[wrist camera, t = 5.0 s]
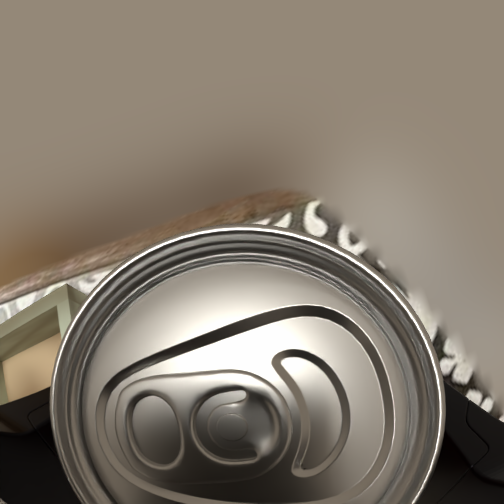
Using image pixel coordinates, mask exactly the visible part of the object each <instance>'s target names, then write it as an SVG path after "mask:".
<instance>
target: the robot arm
mask: <svg viewBox="0 0 504 504" xmlns="http://www.w3.org/2000/svg"><path fill="white" fill-rule="evenodd" d="M443 383H444V390H445V404H446V417H445V430H444V436H443V442H442V447H441V451H440V455H439V458H438V461H437V464H436V467H435V470H434V473H433V475H432V477H431V479H430V482H429V484H428V486H427V488H426V490H425V491H424V493H423V495H422V497H421V498H420V500H419V502H418V503H417V504H504V422H502V421H500V420H499V419H497V418H495V417H494V416H492V415H491V414H489V413H488V412H486V411H485V410H483V409H482V408H481V407H479V406H478V405H476V404H475V403H474V402H472V401H471V400H469V399H468V398H467V397H465V396H464V395H463V394H461V393H460V392H459V391H457V390H456V389H454V388H453V387H452V386H450V385H449V384H448V383H446V382H445V381H444V380H443ZM50 387H51V386H50ZM50 387H47V388H45V389H43V390H41V391H38V392H36V393H33V394H30V395H28V396H25V397H22V398H20V399H17V400H14V401H11V402H8V403H5V404H3V405H0V504H81V502H80V501H79V499H78V498H77V496H76V494H75V493H74V491H73V489H72V488H71V486H70V484H69V482H68V480H67V478H66V476H65V473H64V471H63V468H62V466H61V463H60V461H59V458H58V454H57V451H56V447H55V444H54V439H53V434H52V428H51V419H50Z"/></svg>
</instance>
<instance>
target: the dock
mask: <svg viewBox="0 0 504 504" xmlns="http://www.w3.org/2000/svg"><path fill="white" fill-rule="evenodd" d="M86 297H87V295H85V294H84V293H82V292H80V291H78V290H77V289H75V288H73V287H72V286H70V285H68V284H65V285H63V286H61V287H60V288H58V289H56V290H55V291H53V292H51V293H50V294H48V295H46V296H45V297H43V298H41V299H40V300H38V301H37V302H35V303H33V304H32V305H30V306H29V307H27V308H25V309H24V310H22V311H21V312H19V313H17V314H16V315H14V316H13V317H11V318H10V319H8V320H7V321H5V322H4V323H2V324H1V325H0V405H3V404H5V403H8V402H11V401H14V400H17V399H20V398H22V397H25V396H28V395H30V394H33V393H36V392H38V391H41V390H43V389H45V388H47V387H50V386H51V378H52V373H53V368H54V363H55V359H56V356H57V352H58V349H59V346H60V343H61V341H62V339H63V336H64V334H65V331H66V329H67V327H68V325H69V324H70V322H71V320H72V318H73V316H74V314H75V313H76V311H77V310H78V308H79V307H80V305H81V304H82V302H83V301H84V300H85V299H86Z"/></svg>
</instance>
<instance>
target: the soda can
mask: <svg viewBox="0 0 504 504" xmlns="http://www.w3.org/2000/svg"><path fill="white" fill-rule="evenodd" d="M445 417H446V404H445V390H444V383H443V377H442V372H441V368H440V365H439V361H438V357H437V354H436V352H435V349H434V347H433V344H432V342H431V339H430V337H429V335H428V333H427V331H426V329H425V327H424V326H423V324H422V322H421V320H420V318H419V317H418V315H417V314H416V313H415V311H414V310H413V308H412V307H411V305H410V304H409V303H408V301H407V300H406V299H405V298H404V297H403V295H402V294H401V293H400V292H399V291H398V290H397V288H396V287H395V286H394V285H392V284H391V283H390V282H389V281H388V280H387V279H386V278H385V277H384V276H383V275H382V274H381V273H379V272H378V271H377V270H376V269H374V268H373V267H372V266H371V265H369V264H368V263H367V262H365V261H364V260H362V259H360V258H359V257H357V256H356V255H354V254H353V253H351V252H349V251H347V250H345V249H344V248H342V247H340V246H338V245H336V244H334V243H332V242H329V241H327V240H324V239H322V238H319V237H316V236H314V235H311V234H307V233H304V232H300V231H297V230H293V229H288V228H283V227H278V226H271V225H261V224H226V225H216V226H210V227H203V228H198V229H194V230H190V231H187V232H183V233H180V234H177V235H174V236H171V237H168V238H166V239H163V240H161V241H159V242H157V243H154V244H152V245H150V246H148V247H146V248H144V249H143V250H141V251H139V252H137V253H136V254H134V255H132V256H131V257H130V258H128V259H127V260H125V261H124V262H122V263H121V264H120V265H118V266H117V267H116V268H115V269H114V270H112V271H111V272H110V273H109V274H108V275H106V276H105V277H104V278H103V279H102V280H101V281H100V282H99V283H98V285H97V286H96V287H95V288H94V289H93V290H92V291H91V292H90V294H89V295H88V296H87V297H86V299H85V300H84V301H83V302H82V304H81V305H80V307H79V308H78V310H77V311H76V313H75V314H74V316H73V318H72V320H71V322H70V324H69V325H68V327H67V329H66V331H65V334H64V336H63V339H62V341H61V343H60V346H59V349H58V352H57V356H56V359H55V363H54V368H53V373H52V378H51V387H50V419H51V428H52V434H53V439H54V444H55V447H56V451H57V454H58V458H59V461H60V463H61V466H62V468H63V471H64V473H65V476H66V478H67V480H68V482H69V484H70V486H71V488H72V489H73V491H74V493H75V494H76V496H77V498H78V499H79V501H80V502H81V504H417V503H418V502H419V500H420V498H421V497H422V495H423V493H424V491H425V490H426V488H427V486H428V484H429V482H430V479H431V477H432V475H433V473H434V470H435V467H436V464H437V461H438V458H439V455H440V451H441V447H442V442H443V436H444V430H445Z"/></svg>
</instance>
